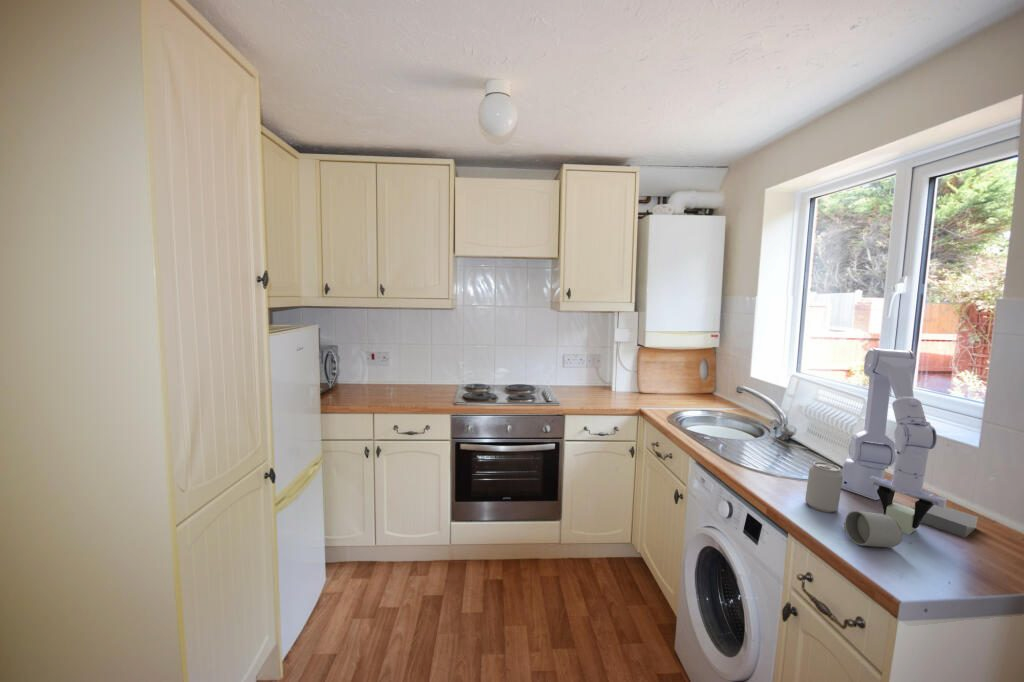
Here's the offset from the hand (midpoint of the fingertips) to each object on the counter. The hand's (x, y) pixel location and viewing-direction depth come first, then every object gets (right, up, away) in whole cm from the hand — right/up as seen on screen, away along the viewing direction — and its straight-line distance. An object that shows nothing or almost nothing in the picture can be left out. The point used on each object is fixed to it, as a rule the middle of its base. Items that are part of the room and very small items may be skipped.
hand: (900, 521), depth 111 cm
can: (-14, 0, +9) cm, 17 cm away
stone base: (+14, -2, +3) cm, 15 cm away
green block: (0, -1, 0) cm, 1 cm away
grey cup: (-15, -2, -7) cm, 17 cm away
